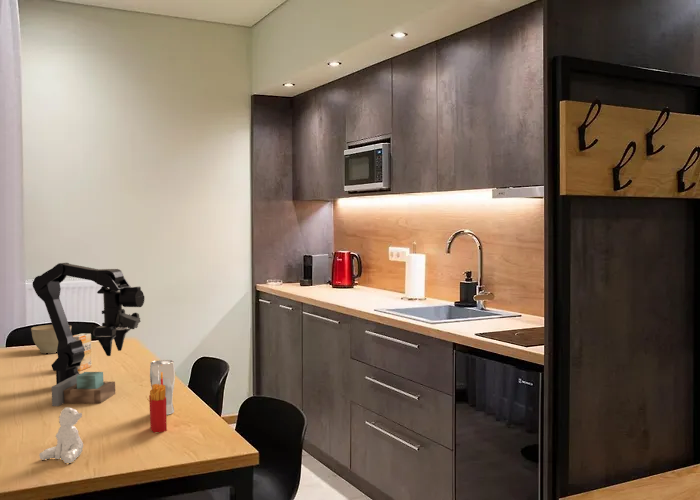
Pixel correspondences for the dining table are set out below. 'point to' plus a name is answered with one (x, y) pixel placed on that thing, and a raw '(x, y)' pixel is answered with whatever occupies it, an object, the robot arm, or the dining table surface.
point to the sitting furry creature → (66, 438)
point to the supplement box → (87, 346)
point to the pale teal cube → (90, 380)
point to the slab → (62, 390)
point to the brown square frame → (89, 394)
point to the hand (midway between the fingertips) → (114, 353)
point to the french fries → (158, 408)
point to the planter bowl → (45, 338)
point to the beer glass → (164, 379)
